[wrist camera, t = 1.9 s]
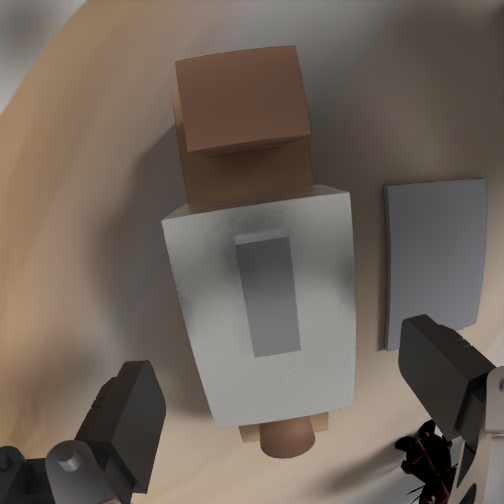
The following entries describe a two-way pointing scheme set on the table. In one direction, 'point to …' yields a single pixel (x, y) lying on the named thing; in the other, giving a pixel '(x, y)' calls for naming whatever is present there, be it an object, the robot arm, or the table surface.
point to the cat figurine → (429, 464)
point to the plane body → (247, 160)
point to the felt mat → (434, 252)
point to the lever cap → (268, 301)
